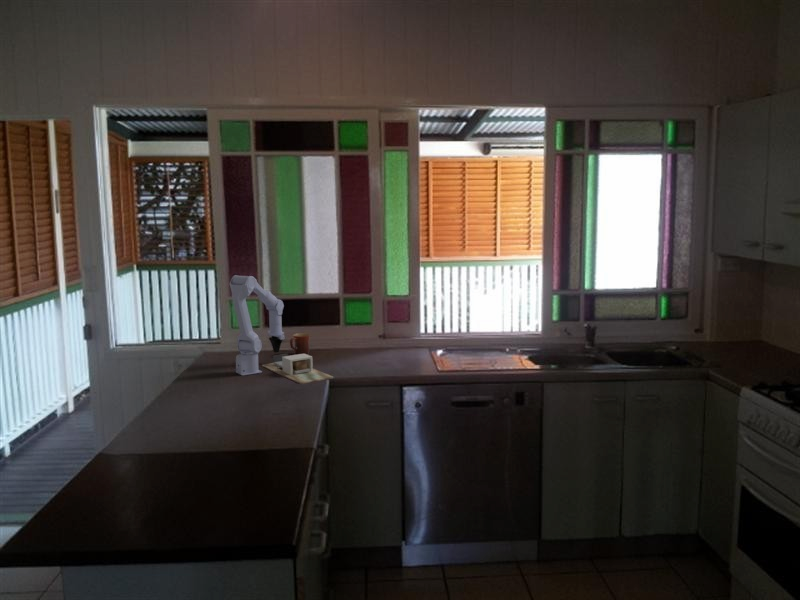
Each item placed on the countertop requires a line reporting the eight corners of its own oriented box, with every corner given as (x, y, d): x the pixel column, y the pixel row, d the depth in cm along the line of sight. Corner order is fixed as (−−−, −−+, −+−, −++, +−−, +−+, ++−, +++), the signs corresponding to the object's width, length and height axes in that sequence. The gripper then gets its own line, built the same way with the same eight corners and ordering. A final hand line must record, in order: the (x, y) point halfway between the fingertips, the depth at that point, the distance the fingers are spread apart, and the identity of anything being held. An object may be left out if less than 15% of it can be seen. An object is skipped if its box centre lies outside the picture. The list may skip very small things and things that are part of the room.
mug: (302, 352, 325) (301, 332, 323) (314, 354, 319) (313, 334, 318) (284, 356, 315) (284, 336, 314) (297, 358, 310) (296, 338, 308)
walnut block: (296, 370, 278) (296, 362, 277) (291, 368, 281) (291, 359, 281) (306, 369, 280) (306, 360, 280) (301, 367, 284) (301, 358, 284)
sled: (295, 373, 276) (295, 364, 276) (273, 363, 295) (273, 355, 294) (309, 371, 280) (309, 362, 280) (286, 361, 299) (286, 353, 298)
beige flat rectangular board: (300, 384, 263) (300, 382, 263) (261, 366, 294) (261, 364, 294) (333, 378, 273) (333, 376, 273) (292, 361, 304) (292, 359, 304)
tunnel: (290, 374, 276) (290, 360, 275) (282, 371, 282) (282, 356, 281) (312, 371, 282) (312, 356, 281) (304, 367, 289) (304, 353, 288)
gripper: (290, 325, 294) (290, 353, 296) (276, 320, 305) (277, 348, 307) (276, 326, 290) (277, 355, 292) (263, 322, 301) (264, 350, 303)
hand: (276, 352), depth 299 cm, fingers closed
